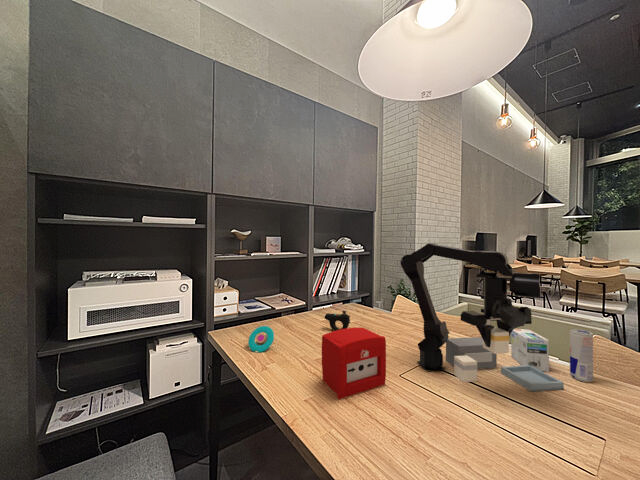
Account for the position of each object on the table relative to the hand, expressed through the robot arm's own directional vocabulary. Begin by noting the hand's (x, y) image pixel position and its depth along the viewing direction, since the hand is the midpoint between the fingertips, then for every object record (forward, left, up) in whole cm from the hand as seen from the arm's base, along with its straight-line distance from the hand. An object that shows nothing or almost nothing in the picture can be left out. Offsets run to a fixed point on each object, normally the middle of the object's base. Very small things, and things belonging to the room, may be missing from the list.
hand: (495, 346), depth 76 cm
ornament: (-71, +36, -12) cm, 81 cm away
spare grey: (-5, +6, -12) cm, 14 cm away
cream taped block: (0, 0, -1) cm, 1 cm away
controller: (-37, +52, -12) cm, 65 cm away
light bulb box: (+24, +12, -12) cm, 29 cm away
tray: (+14, +2, -12) cm, 18 cm away
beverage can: (+31, +1, -12) cm, 33 cm away
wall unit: (+3, +14, -12) cm, 19 cm away
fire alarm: (-41, +7, -12) cm, 44 cm away
